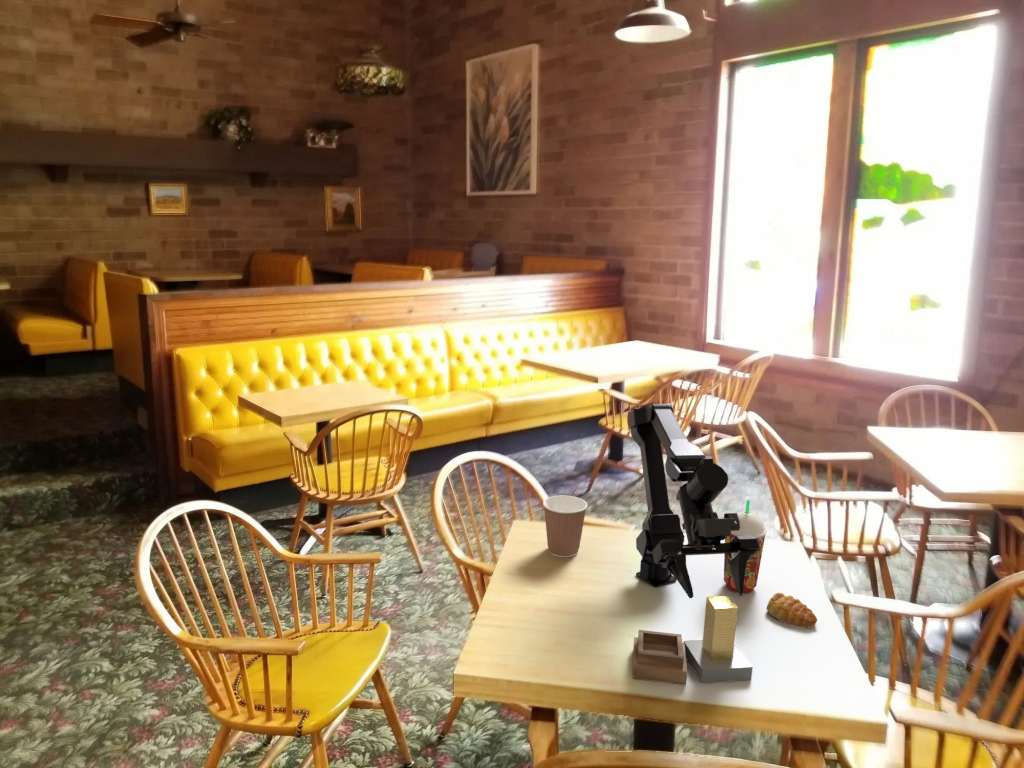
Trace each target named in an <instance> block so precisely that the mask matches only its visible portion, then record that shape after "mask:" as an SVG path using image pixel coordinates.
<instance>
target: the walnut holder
mask: <svg viewBox="0 0 1024 768" xmlns="http://www.w3.org/2000/svg"><path fill="white" fill-rule="evenodd" d="M637 634H638V635H637V636H638V637H636V636H634V637H633V650H632V651H633V652H632V653H633V654H632V657H633V658H632V679H634V680H642V681H652V682H659V683H668V684H675V685H676V684H677V685H684V686H686V685H687V678H688V677H687V676H688V668H687V666H688V665H687V659H686V654H685V643H684V641H683V637H682V634H680V633H674V632H673V633H671V632H663V631H655V630H654V631H652V630H643V629H639V630H638V633H637Z"/></svg>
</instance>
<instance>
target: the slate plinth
mask: <svg viewBox="0 0 1024 768" xmlns="http://www.w3.org/2000/svg"><path fill="white" fill-rule="evenodd" d="M683 643H685V654H686V662H688V664H689V665H690V667H691V669H692V670H693V672H694V673H695V675H696V677H697V678H698V679H699V681H700V682H701V684H708V683H720V682H722V683H723V682H736V681H750V680H751V681H752V677H753V676H752V674H753V665H752V664H751V663H750V662H749V660H748V659H747V658H746V656H745V655H744V654H743V652H742V651H741V649H740V648H739V647H738V646H737V644H736V643H735V642H734V651H733V659H728V660H714V661H711V660H710V659H709V657H708V656H707V654H706V653H705V651H704V650H703V648H702V643H703V639H695V640H694V639H693V640H683Z"/></svg>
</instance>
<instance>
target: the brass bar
mask: <svg viewBox="0 0 1024 768" xmlns="http://www.w3.org/2000/svg"><path fill="white" fill-rule="evenodd" d="M705 601H706V602H705V612H704V623H703V634H702V640H703V643H702V648H703V650H704V651H705V653H706V654H707V656H708V657H709V659H710V660H711V661H714V660H728V659H733V651H734V643H735V641H736V629H737V618H738V611H739V610H738V609H739V608H738V606H737V604H736V603H734V601H733V600H732V599H731V597H730V596H729V595H721V596H719V595H718V596H706V599H705Z"/></svg>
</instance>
